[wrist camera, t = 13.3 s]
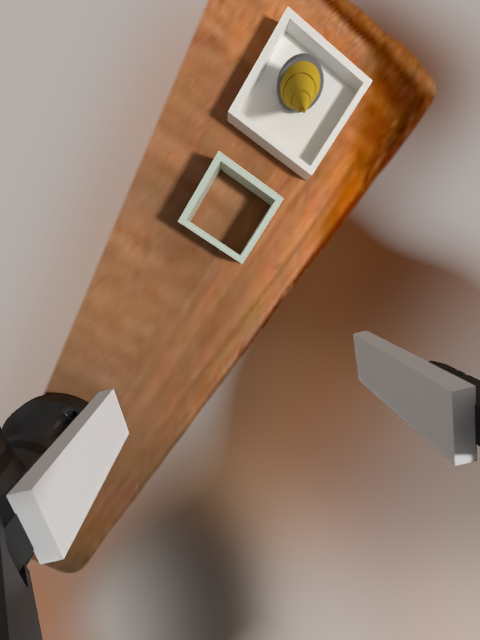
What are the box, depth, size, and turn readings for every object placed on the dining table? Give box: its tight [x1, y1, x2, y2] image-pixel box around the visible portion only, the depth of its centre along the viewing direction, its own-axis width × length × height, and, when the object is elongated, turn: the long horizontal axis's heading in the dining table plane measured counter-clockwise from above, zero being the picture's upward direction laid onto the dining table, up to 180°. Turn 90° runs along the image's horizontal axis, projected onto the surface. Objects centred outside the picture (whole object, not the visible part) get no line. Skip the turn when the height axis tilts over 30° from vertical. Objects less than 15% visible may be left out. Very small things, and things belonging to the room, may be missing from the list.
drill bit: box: [277, 53, 324, 113], centre depth 32 cm, size 5×5×10 cm
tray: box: [227, 7, 372, 180], centre depth 35 cm, size 13×13×2 cm
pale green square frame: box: [178, 151, 284, 264], centre depth 37 cm, size 10×10×4 cm
